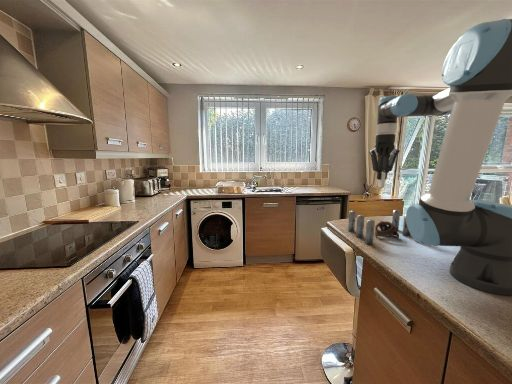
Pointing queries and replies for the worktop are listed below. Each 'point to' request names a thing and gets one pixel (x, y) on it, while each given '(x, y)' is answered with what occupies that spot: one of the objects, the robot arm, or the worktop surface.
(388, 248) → the worktop surface
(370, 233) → the posts
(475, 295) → the worktop surface
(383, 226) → the pottery mug
